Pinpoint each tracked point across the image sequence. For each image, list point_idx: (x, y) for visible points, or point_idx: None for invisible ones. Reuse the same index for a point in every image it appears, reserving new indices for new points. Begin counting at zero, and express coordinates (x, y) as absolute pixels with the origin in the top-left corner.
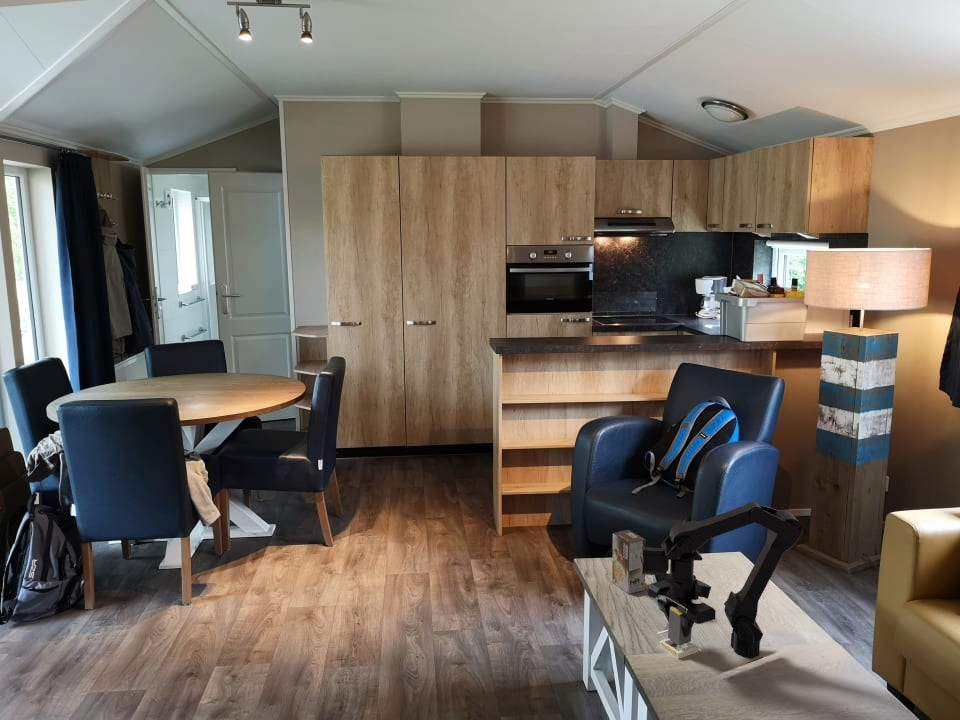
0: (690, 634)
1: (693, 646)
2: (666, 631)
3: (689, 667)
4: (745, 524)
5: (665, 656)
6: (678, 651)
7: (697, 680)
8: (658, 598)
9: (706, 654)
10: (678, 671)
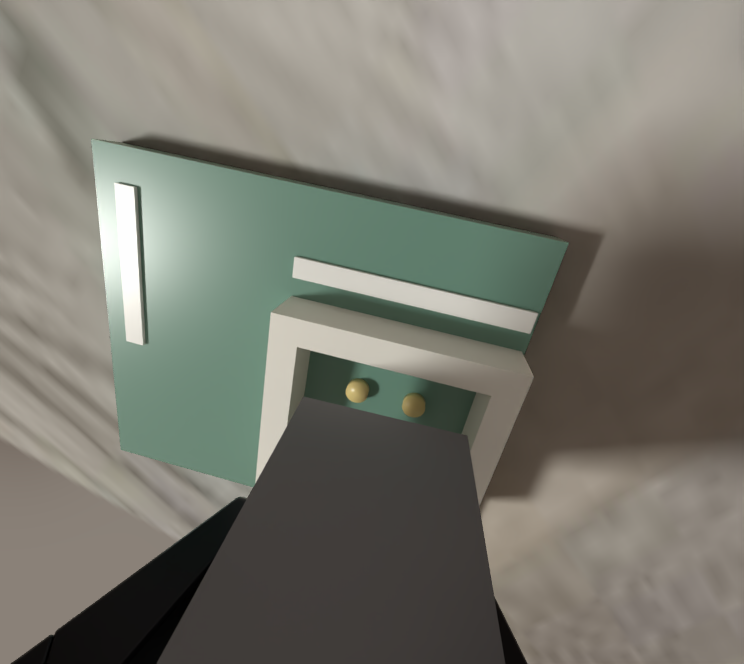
0: (473, 511)
1: (494, 405)
2: (139, 263)
3: (542, 496)
4: None
5: None
6: None
7: (656, 578)
8: None
9: (563, 268)
10: (509, 562)
